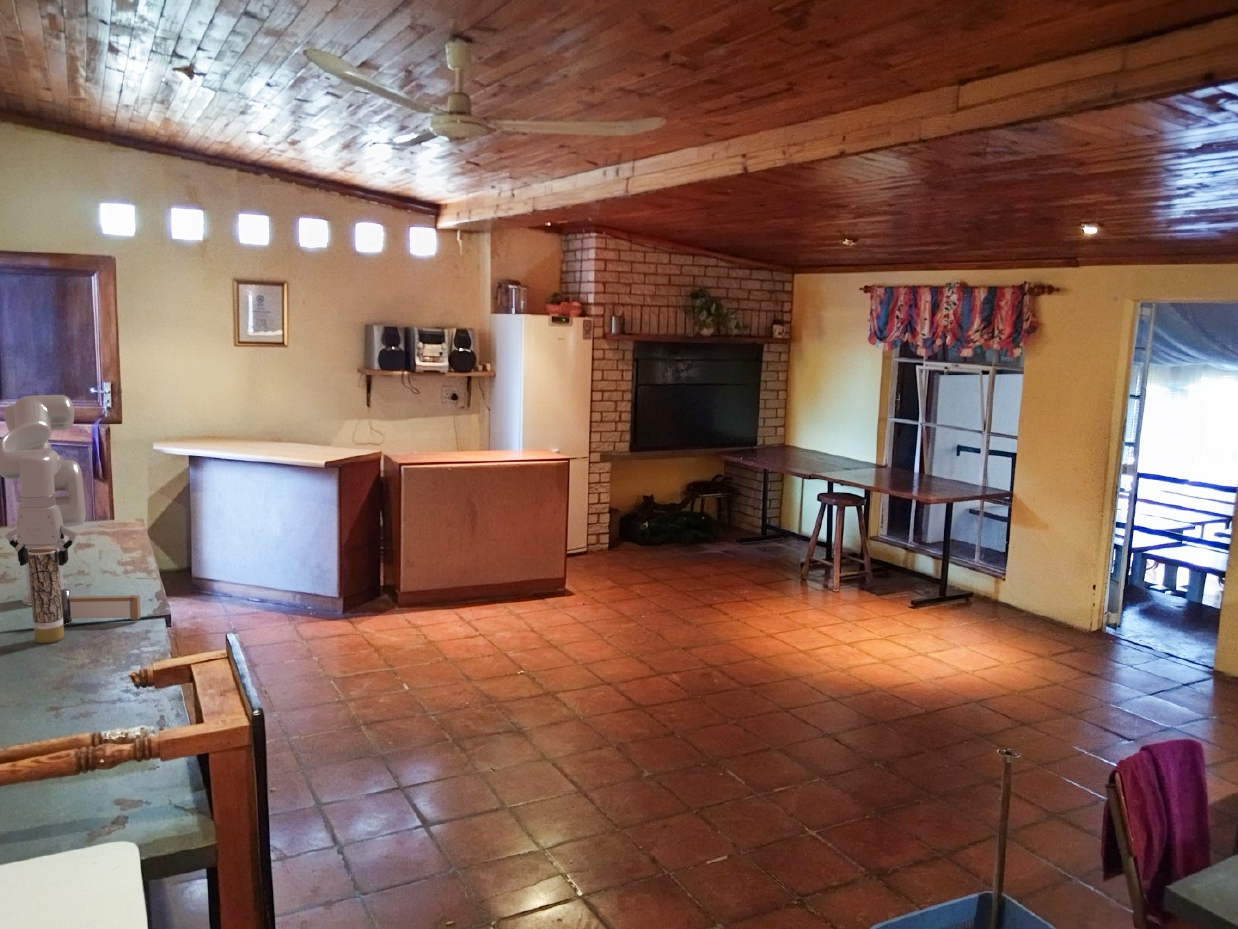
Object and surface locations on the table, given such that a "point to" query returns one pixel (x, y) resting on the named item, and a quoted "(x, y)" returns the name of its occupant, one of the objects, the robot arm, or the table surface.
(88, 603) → the gate
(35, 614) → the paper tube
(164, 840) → the table surface
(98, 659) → the table surface
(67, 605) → the hinge post
